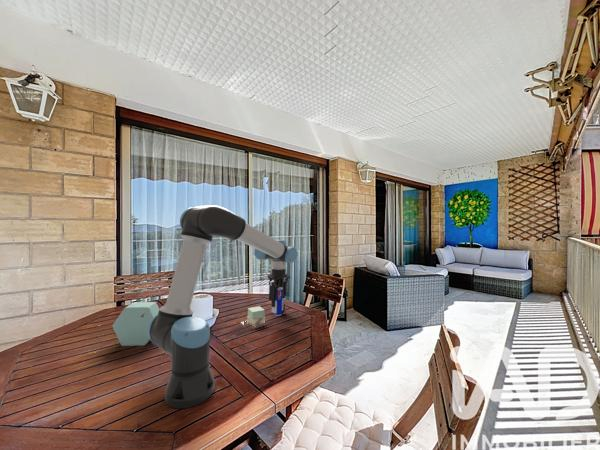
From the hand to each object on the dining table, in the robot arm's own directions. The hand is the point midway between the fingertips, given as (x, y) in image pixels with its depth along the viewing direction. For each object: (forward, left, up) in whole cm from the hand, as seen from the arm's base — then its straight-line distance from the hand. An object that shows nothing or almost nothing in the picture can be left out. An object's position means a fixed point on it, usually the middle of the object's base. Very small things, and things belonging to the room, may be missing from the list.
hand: (277, 311), depth 138 cm
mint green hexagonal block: (-62, +23, -9) cm, 66 cm away
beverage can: (0, 0, -2) cm, 2 cm away
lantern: (+11, +17, -9) cm, 22 cm away
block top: (-8, +10, -4) cm, 13 cm away
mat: (-8, +10, -9) cm, 15 cm away
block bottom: (-8, +10, -8) cm, 15 cm away
